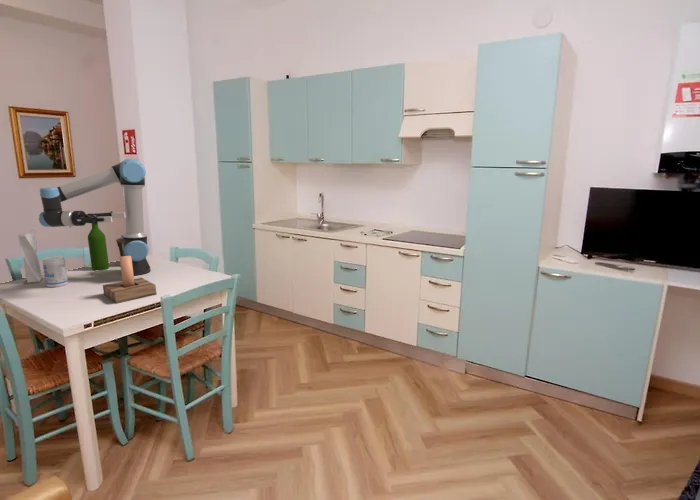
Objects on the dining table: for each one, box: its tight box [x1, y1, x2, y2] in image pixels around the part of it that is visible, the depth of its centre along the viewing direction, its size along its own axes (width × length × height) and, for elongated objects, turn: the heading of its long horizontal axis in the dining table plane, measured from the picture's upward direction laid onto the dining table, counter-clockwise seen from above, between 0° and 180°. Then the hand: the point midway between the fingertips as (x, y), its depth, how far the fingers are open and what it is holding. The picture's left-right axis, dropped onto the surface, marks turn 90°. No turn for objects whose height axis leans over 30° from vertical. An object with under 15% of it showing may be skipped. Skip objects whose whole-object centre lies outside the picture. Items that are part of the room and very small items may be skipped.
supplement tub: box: [42, 255, 69, 288], centre depth 216 cm, size 10×10×15 cm
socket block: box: [102, 277, 157, 304], centre depth 202 cm, size 18×18×5 cm
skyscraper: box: [17, 229, 43, 285], centre depth 220 cm, size 8×8×28 cm
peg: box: [119, 256, 135, 288], centre depth 200 cm, size 5×5×18 cm
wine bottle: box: [87, 222, 110, 271], centre depth 246 cm, size 9×9×32 cm
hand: (118, 217), depth 207 cm, fingers open, 13 cm apart
